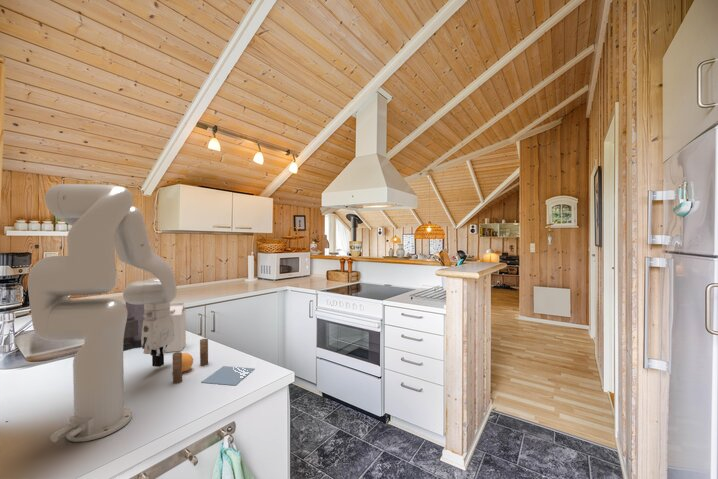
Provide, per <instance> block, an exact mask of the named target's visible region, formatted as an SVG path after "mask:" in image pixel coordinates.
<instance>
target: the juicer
mask: <svg viewBox="0 0 718 479" xmlns="http://www.w3.org/2000/svg"><path fill="white" fill-rule="evenodd" d="M125 306H126V307H127V311H128V315H127V321H126V326H125V332H124V341H123V352H126V351H130V350H133V349H141V348H142V345H141V335H142V326H143V321H144V320H145V319H144V317H143V315H144V304H142V305H133V304H129V303H127V302H126V301H125Z"/></svg>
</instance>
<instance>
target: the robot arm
mask: <svg viewBox="0 0 718 479" xmlns="http://www.w3.org/2000/svg"><path fill="white" fill-rule="evenodd" d="M133 200H134V197H133V193H132V191H131V190H129V188H127V187H124V186H122V185H117V184H116V185H115V184H100V183H99V184H96V183H94V184H93V183H92V184H91V183H90V184H89V183H86V184H85V183H84V184H83V183H59V184H54V185H53V186H51V187H50V188H48V190H47V191H46V193H45V195H44V202H45V205H46V207H47V209H48V211H49V213H51V214H52V216H54V217H55V218H57V219H59V220H61V221H62V222H64V223H65V224H68V225H69V226H71V227H70V228H69V230H68V233H67V236H66V244H67V255H52V256H51V255H50V256H45V257H43V258H41V259H39V260H37V261H36V262H35V263H34V264H33V266H31V269H30V271H29V273H28V277H27V292H28V293H27V294H28V299H29V301H28V302H29V307H30V316H31V322H32V327H33V330H34V333H35V335H36V336H37V337H38V338H40V339H42V340H44V341H54V342H55V341H71V340H78V341H79V340H84V343H83V344H82V345H81V347H80V348H79V349H78V351H77V352H76V353H75V355H74V358H73V360H72V362H73V363H72V376H73V377H72V378H73V380H72V381H73V382H72V383H73V415H72V416H71V417H69V419H68V423H67V424H66V425H65V426H64V427H63V428H60V429H58V430H57V431H55V432H53V433H52V434H51V435H50V437H49V438H50V441H51V442H53V443H56V442H58V441H60V440H61V439H64V438H66V439H67V440H68V441H69V442H77V443H81V442H89V441H94V440H97V439H100V438H103V437H106V436H108V435H110V434H113V433H115V432H116V431H118V430H121V429H122V428H123V427H125V426H126V425H127V424H128V423H129V422H130V421H131V419H132V416H133V411H132V410H131V409H130V408H128V407H125V380H124V379H125V378H124V376H125V375H124V374H125V371H124V351H123V341H124V332H125V326H126V321H127V315H128V311H127V307H126V302H127V303H129V304H133V305H142V304H144V315H143V317H144V319H145V320H144V321H143V326H142V335H141V345H142V347H141V348H142V350H143V352H142V353H143V354H144V355H150V357H151V358H152V360H151V362H152V367H154V368H155V367H156V368H157V367H158V368H160V367H162V366H164V365H165V354H166V352H165V350H166V347H167V346H168V345H169V344H170V343H171V342H172V341H173V340H174V324H173V319H172V315H171V314H170V303H171V302H172V301H174V300H175V299H176V297H177V293H178V292H177V291H178V288H177V282H176V278H175V274H174V271H173V268H172V267H171V266H170V265H169V264H168V263H167V262H166V260H165V259H163V258H162V257H161V256H159V255H158V254H157V253H155V252H154V251H153V250H152V246H151V243H150V239H149V235H148V232H147V226H146V223H145V219H144V215H143V213H142V211H141V210H140V208H138V207H136V206H133V204H134V203H133V202H134V201H133ZM116 255H117V259H118V260H119V261H120V262H122V263H124V264H125V265H128V266H132V267H134V268H138V269H140V270H143V271H146V272H149V273H150V274H152V275H153V276H155V277H152V278H147V279H146V280H136V281H133V282H132V281H131V282H130V283H128V284H127V285H126V286H125V287H124V290H123V292H122V296H123V301H125V303H124V302H123V301H121V300H119V299H114V298H107V297H105V298H83V299H80V298H79V299H69V297H71V296H75V297H77V296H95V295H97V296H98V295H103V294H107V293H109V292H110V291H112V290H113V289H115V286H116V284H117V276H118V275H117V264H116V262H117V261H116ZM172 303H173V302H172Z"/></svg>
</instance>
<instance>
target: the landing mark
mask: <svg viewBox="0 0 718 479" xmlns="http://www.w3.org/2000/svg"><path fill="white" fill-rule="evenodd" d="M233 367H234V370H236V371H238V372H241V371H239V370H238V369H237V368H239V369H240V370H242V371H243V370H244V369H246V370H244V371H245V372H249V373H250V372H251V371H252V372H253V371H254V370H256V369H255V367H254V368H253V367H241V366H227V365H223V366H222V367H220V368H219V369H217V370H216V371H215V372H213V373H211V374H210V375H208V377H206V378H205V379H204V380H202V381H201V384H202V383H203V384H213V385H222V384H223V385H222V386H233V385H236V386H237V385H238V384H240V381H241V380H242V379H243V378H240V376H243V375H240V373H238V372H235V371H234V370H233ZM235 367H237V368H235ZM242 368H244V369H242ZM247 370H248V371H247ZM252 372H251V373H252ZM241 373H243V372H241ZM249 373H248V374H245V375H246V376H243V377H245V378H246V377H247V376H248V375H250V374H251V373H250V374H249ZM243 380H244V379H243ZM243 380H242V381H243ZM242 381H241V382H242Z"/></svg>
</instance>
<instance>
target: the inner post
mask: <svg viewBox="0 0 718 479" xmlns="http://www.w3.org/2000/svg"><path fill="white" fill-rule="evenodd" d="M182 382H183V372H182V351H176V352H173V353H172V384H179V383H182Z"/></svg>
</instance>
